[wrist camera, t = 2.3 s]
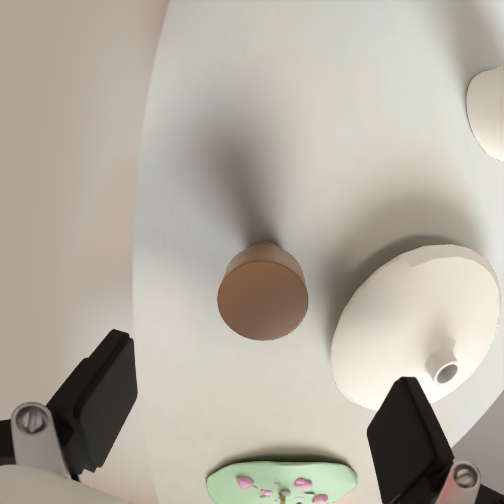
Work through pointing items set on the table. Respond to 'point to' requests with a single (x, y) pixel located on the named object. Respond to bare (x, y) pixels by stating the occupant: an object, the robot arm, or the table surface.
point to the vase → (417, 324)
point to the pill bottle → (487, 111)
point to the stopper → (263, 293)
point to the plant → (281, 483)
